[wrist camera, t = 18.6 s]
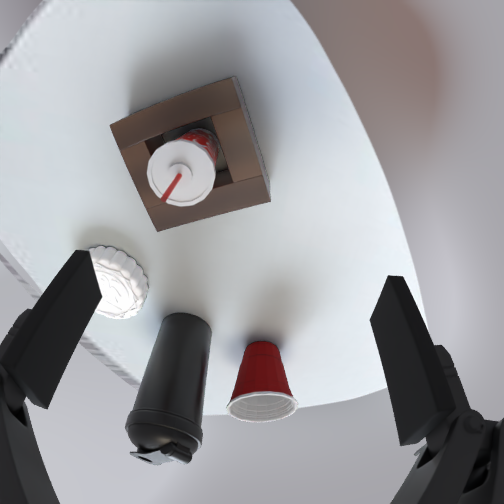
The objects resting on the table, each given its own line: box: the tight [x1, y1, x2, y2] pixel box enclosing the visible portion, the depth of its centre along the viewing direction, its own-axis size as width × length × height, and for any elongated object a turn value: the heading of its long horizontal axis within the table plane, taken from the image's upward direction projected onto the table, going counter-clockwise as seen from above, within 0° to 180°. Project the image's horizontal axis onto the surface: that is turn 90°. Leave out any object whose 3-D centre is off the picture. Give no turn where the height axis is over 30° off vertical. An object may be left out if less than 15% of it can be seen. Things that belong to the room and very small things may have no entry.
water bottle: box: [125, 313, 212, 465], centre depth 41 cm, size 10×10×23 cm
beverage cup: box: [147, 128, 220, 207], centre depth 28 cm, size 6×6×14 cm
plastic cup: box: [226, 341, 298, 422], centre depth 48 cm, size 11×11×12 cm
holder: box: [110, 76, 271, 232], centre depth 31 cm, size 13×13×5 cm
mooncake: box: [88, 246, 149, 319], centre depth 43 cm, size 12×12×4 cm
